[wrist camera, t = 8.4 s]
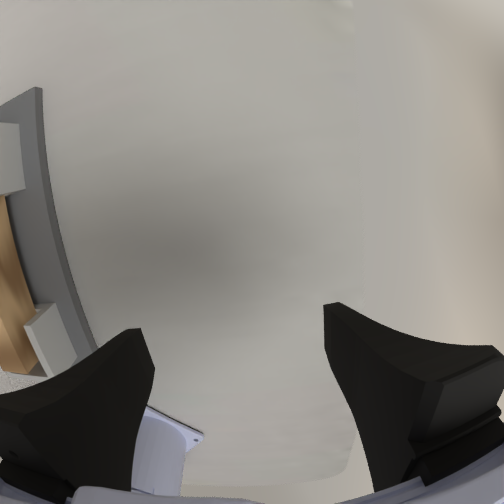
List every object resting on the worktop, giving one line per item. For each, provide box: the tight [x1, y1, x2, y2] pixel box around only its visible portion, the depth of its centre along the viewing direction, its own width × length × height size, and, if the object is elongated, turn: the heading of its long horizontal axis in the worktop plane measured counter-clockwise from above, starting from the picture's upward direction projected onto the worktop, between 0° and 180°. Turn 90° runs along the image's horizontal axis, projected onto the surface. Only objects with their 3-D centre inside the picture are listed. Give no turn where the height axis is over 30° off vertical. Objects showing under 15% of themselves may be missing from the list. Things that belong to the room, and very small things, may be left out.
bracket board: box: [0, 87, 98, 382], centre depth 17 cm, size 24×10×5 cm, turn 8°
